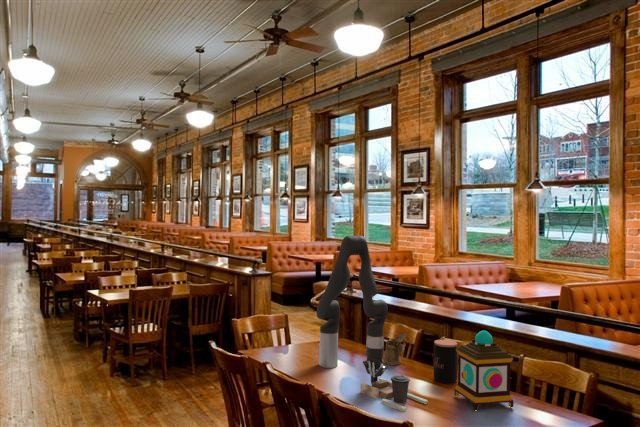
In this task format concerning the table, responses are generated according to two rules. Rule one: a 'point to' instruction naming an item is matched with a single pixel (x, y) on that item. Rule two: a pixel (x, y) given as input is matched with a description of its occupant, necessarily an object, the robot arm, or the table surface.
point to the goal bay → (402, 406)
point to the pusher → (383, 389)
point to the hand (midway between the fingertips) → (374, 384)
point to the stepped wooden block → (372, 389)
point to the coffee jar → (445, 361)
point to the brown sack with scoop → (394, 350)
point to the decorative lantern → (484, 372)
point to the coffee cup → (400, 388)
